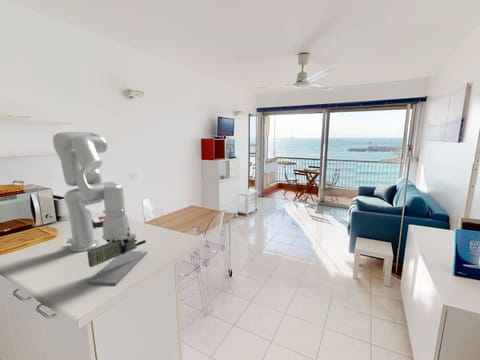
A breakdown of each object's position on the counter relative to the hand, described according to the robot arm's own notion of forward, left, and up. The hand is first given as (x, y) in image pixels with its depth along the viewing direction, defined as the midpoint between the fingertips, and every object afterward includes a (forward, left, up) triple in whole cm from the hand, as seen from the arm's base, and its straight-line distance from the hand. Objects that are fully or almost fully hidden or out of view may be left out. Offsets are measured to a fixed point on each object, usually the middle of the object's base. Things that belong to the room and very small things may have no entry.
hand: (119, 252), depth 105 cm
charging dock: (0, 0, -7) cm, 7 cm away
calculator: (-42, +53, -8) cm, 68 cm away
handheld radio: (+1, 0, -1) cm, 1 cm away
